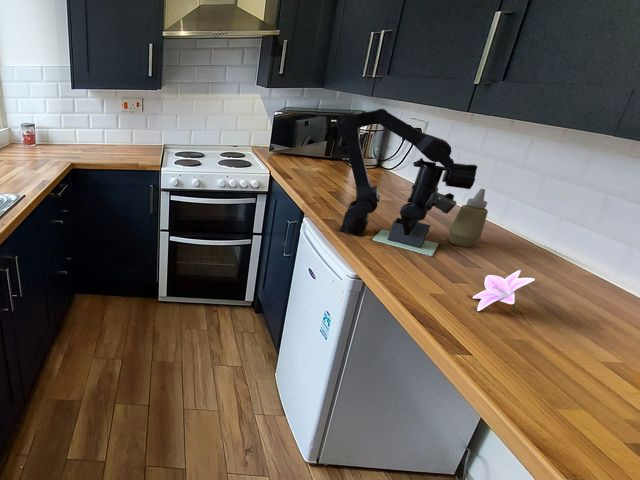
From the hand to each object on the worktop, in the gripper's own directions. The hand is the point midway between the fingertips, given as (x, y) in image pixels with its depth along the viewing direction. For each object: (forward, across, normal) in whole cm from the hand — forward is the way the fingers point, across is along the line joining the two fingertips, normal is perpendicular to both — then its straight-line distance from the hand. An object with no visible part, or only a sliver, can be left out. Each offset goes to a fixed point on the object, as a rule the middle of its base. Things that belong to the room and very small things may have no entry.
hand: (409, 231), depth 125 cm
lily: (+4, -29, -23) cm, 37 cm away
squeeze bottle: (+4, +13, -13) cm, 19 cm away
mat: (+4, 0, 0) cm, 4 cm away
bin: (+4, 0, 0) cm, 4 cm away
